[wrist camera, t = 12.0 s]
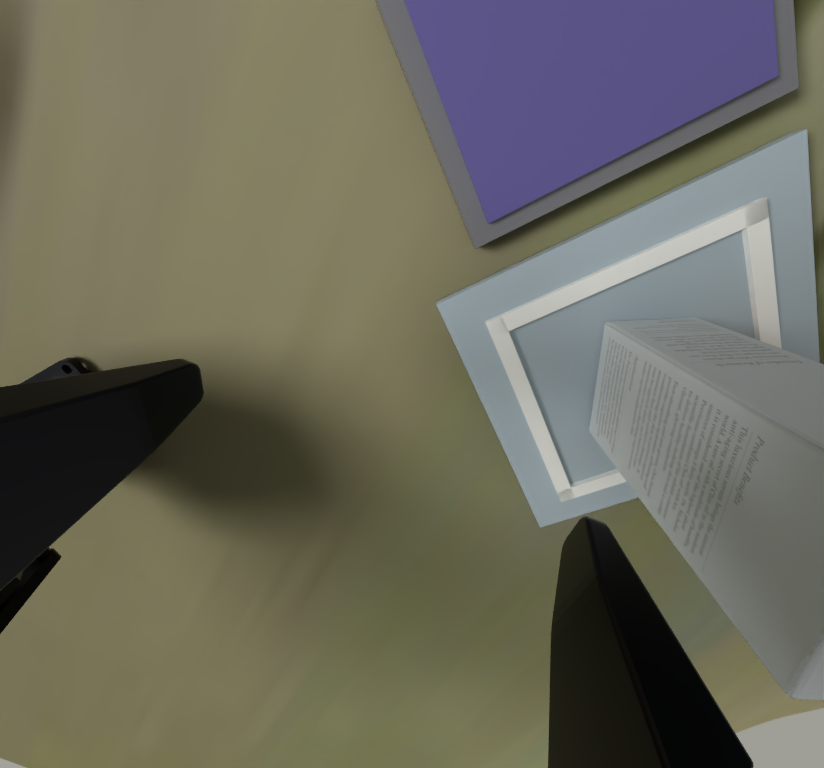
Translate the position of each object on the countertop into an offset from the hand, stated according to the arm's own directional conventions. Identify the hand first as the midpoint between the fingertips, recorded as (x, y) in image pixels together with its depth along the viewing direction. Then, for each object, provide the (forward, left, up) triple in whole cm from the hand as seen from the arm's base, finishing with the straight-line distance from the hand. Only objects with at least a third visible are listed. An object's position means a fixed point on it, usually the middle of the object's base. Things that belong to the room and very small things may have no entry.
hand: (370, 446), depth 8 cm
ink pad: (+10, +6, -11) cm, 16 cm away
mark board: (+9, -7, -11) cm, 16 cm away
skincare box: (+9, -7, -10) cm, 16 cm away
